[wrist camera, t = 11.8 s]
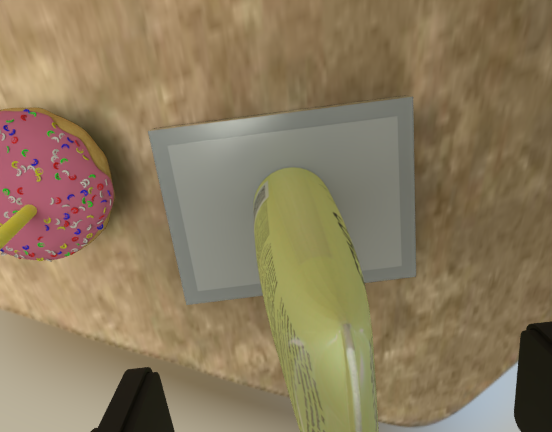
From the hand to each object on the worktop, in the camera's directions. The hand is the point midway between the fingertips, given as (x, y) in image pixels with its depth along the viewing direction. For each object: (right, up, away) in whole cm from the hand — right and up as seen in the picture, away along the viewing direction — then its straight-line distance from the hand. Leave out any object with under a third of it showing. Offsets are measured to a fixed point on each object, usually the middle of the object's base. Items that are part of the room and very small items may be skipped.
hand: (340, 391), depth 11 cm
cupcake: (-15, +8, +16) cm, 24 cm away
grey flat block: (-1, +5, +17) cm, 18 cm away
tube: (-1, +5, +16) cm, 17 cm away
